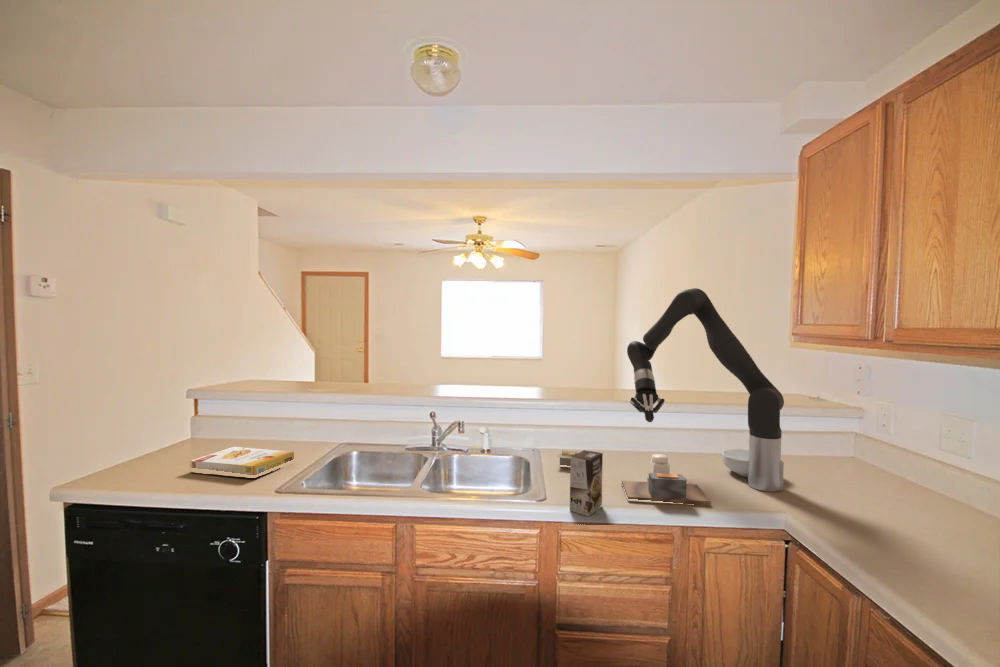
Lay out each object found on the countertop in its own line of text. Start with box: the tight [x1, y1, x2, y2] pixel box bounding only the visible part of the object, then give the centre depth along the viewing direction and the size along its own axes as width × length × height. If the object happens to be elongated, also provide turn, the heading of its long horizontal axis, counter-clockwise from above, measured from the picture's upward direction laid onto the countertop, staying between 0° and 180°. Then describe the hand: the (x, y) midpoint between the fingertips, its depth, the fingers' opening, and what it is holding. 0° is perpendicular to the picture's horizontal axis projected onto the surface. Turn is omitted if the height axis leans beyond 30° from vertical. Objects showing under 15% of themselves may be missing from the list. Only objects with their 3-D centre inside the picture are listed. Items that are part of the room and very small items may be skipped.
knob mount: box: [621, 472, 712, 507], centre depth 144 cm, size 24×14×8 cm, turn 83°
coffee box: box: [569, 449, 604, 517], centre depth 133 cm, size 9×6×16 cm
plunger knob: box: [649, 453, 670, 474], centre depth 149 cm, size 5×5×9 cm
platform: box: [556, 449, 579, 466], centre depth 170 cm, size 12×18×7 cm, turn 71°
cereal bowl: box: [721, 448, 749, 478], centre depth 164 cm, size 17×17×7 cm
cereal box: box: [189, 446, 295, 475], centre depth 168 cm, size 20×6×28 cm
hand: (650, 421), depth 166 cm, fingers closed
